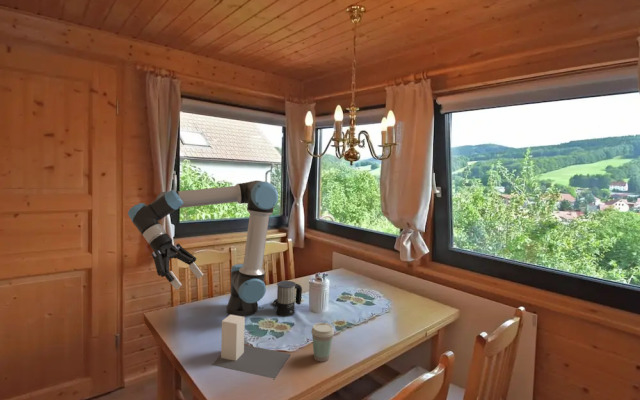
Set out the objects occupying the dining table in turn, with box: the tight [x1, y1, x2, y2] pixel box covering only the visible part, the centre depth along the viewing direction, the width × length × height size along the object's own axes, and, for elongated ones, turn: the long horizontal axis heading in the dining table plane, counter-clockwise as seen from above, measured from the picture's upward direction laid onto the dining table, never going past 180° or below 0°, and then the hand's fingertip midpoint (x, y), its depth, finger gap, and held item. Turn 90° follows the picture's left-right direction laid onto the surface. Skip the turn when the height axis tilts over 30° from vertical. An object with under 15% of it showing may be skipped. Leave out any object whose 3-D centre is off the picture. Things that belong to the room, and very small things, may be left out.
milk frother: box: [272, 280, 303, 317], centre depth 170 cm, size 14×16×15 cm
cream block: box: [220, 314, 246, 361], centre depth 126 cm, size 6×6×14 cm
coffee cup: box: [311, 322, 335, 362], centre depth 128 cm, size 8×9×12 cm
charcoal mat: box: [211, 344, 291, 380], centre depth 124 cm, size 24×16×1 cm, turn 75°
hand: (190, 282), depth 129 cm, fingers open, 13 cm apart
